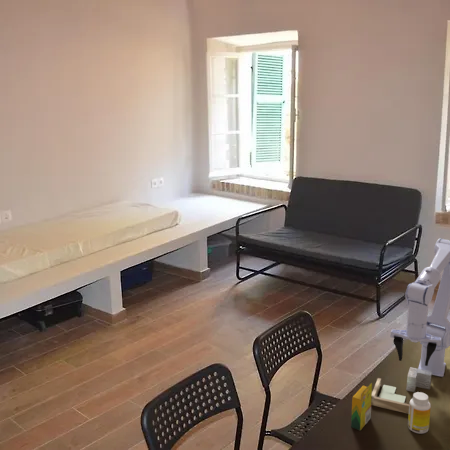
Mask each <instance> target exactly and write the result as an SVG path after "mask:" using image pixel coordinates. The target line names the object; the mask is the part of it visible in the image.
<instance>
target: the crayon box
mask: <svg viewBox="0 0 450 450" xmlns="http://www.w3.org/2000/svg"><path fill="white" fill-rule="evenodd" d="M372 392H373V382H371V383H369V385H368V386H365V385H362V386H361V387H359V389H358V390H357V391H356V393H355V394H353V396H352V399H351V416H350V417H351V418H350V419H351V421H350V422H351V423H350V424H351V426H350V427H351V428H353V429H355V430H357V431H362V429H363V428H364V427H365V425H367V424H368V422H369V421H370V420H371V417H372V415H371V414H372V413H371V412H372V405H371V397H372Z"/></svg>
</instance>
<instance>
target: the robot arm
mask: <svg viewBox="0 0 450 450" xmlns="http://www.w3.org/2000/svg"><path fill="white" fill-rule="evenodd" d="M433 253H434V257H433V259H432V261H431V263H430V266H426V267H424V268H423V269H422V271H421V272H420V274H419V275H418V277H417V278H416V279H415V281H413V282H411V283H409V284H408V285H407V286H406V287H407V288H406V290H405V293H404V294H405V300H406V303H405V304H406V306H407V315H406V317H407V318H406V327H405V328H406V329H394V328H393V329H392V328H391V330H390V338H392V339H393V340H392V341H393V345H394V346H395V348H396V352H397V355H398V361H400V362H401V361H402V360H403V353H404V352H403V350H404V349H403V347H404V340H409V342H412V343H418V342H419V344H420V345H421V355H420V360H419V365H418V367H417V369H422V370H427V371H432V374H431V376H435V377H440V378H443V377H444V376H445V375H444V374H445V370H446V364H447V363H446V362H445V356H446V350H447V349H448V348H449V347H450V320H449V319H448V316H449V312H450V240H449V239H445V238H441V237H439V238H438V239H437V240H436V242H435V244H434V248H433ZM441 273H442V274H441ZM438 284H439V285H438ZM437 285H438V290H437V293H436V297H435V301H434V304H433V307H432V311H431V314H430V315H428V314H429V313H428V312H429V305H430V304H431V302H432V299H433V297H434V293H435V289H436V287H437Z"/></svg>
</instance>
